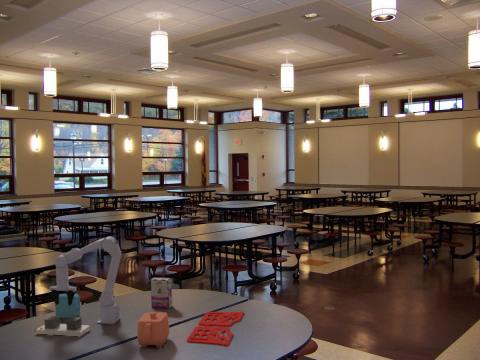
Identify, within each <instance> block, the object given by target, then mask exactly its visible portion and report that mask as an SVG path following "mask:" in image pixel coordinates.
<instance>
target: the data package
mask: <svg viewBox="0 0 480 360" xmlns="http://www.w3.org/2000/svg"><path fill="white" fill-rule="evenodd" d="M80 299H81V297H80V295H79V293H75V295H74V297H73V301H72V305H70V306H69V305H68V297H67V294H66V293H59V304H57V305H55V304H54V309H55V312H54V313H55V316H60V319H70V318H71V317H80V314H81V300H80Z"/></svg>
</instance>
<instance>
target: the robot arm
mask: <svg viewBox="0 0 480 360" xmlns="http://www.w3.org/2000/svg"><path fill="white" fill-rule="evenodd" d="M95 250H104V251H106V252H107V253H108V254H109V255H110V256H111V260H110V264H109V267H108V272H107V276H106V280H105V284H104V287H103V291H102V292H101V295H100V296H99V298H98V301H99V318H100V319H99V320H98V321H96V323H97V324H108V325H109V324H110V325H113V324H115V323H117V322H118V321H119V320H121V317H120V314H121V313H120V306H119V304H116V303H115V302H114V300H113V298H114V288H115V287H114V286H115V283H116V279H117V274H118V271H119V266H120V262H121V259H122V255H123V254H122V251H121V249H120V244H119V241H118V240H117V239H116V237H113V236H112V235H109V236H106V237H103V238H100V239H97V240H95V241H93V242H92V243H89V244H88V245H86V246H83V247H81V248H78V247H75V248H74V247H73V248H71V250H69V251H68V252H63V253H62V254H60V255H58V256H57V257H56V258H55V260H54V265H55V269H56V270H55V275H56V278H55V279H56V285H51V286H49V288H48V290H49V291H50V292H49V294H50V295H51V297H52V299H53V302H54V306H55V305H57V304H59V295H60V291H61V292H62V291H63V292H66V293H65V294H67V297H68V305H69V306H70V305H72V301H73V297H74V295H75V294H77V290H78V289H77V286H71V285H70V284H69V268H68V264H71V263H73V262H76V261H77V260H79V259H82V257H83V255H86V254H87V253H90V252H92V251H95Z"/></svg>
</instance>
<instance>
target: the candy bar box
mask: <svg viewBox="0 0 480 360" xmlns="http://www.w3.org/2000/svg"><path fill="white" fill-rule="evenodd" d="M172 282H173V281H172V277H152V278H151V279H150V295H151V296H150V297H151V298H150V299H151V301H150V302H151V308H155V309H168V310H169V309H171V308H172V307H173V286H172Z"/></svg>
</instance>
